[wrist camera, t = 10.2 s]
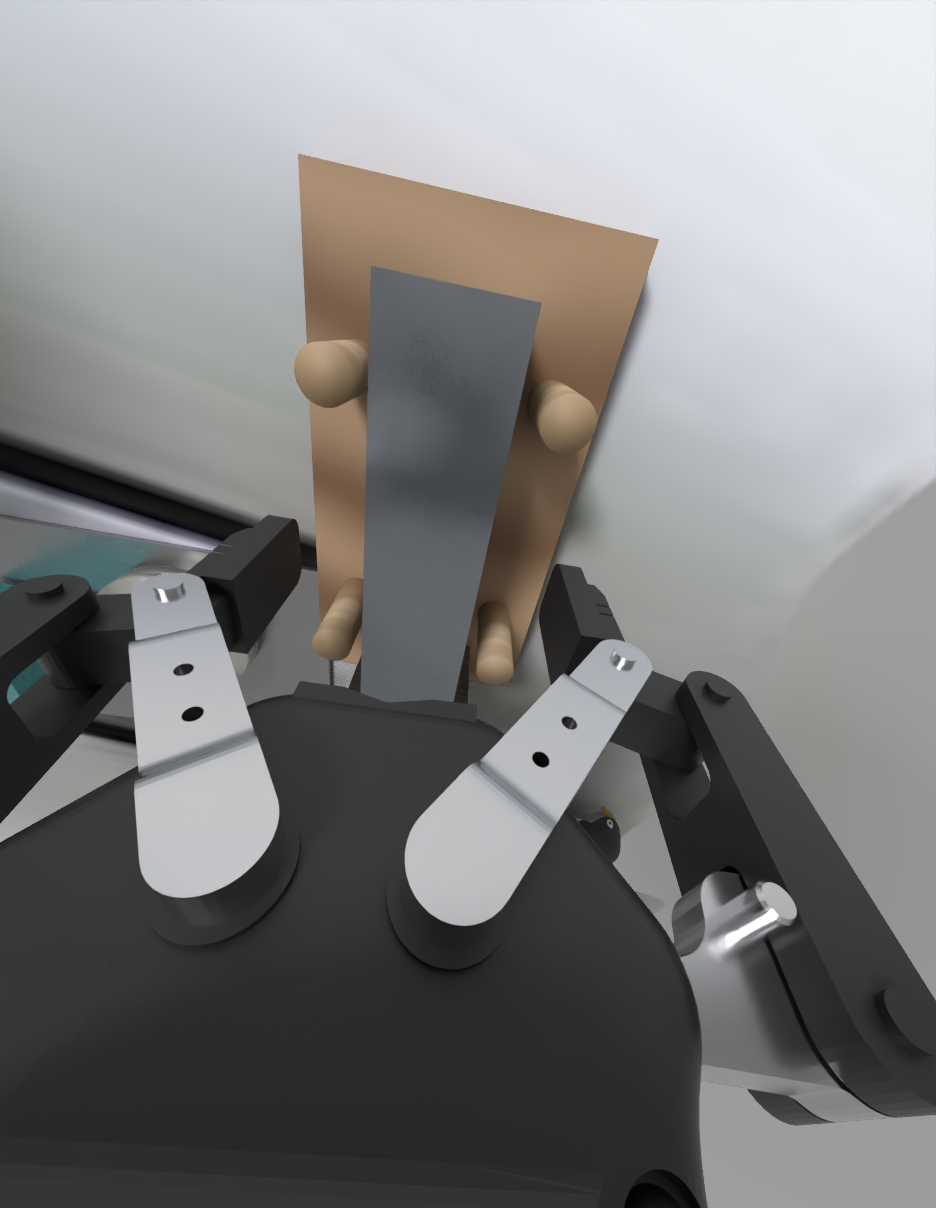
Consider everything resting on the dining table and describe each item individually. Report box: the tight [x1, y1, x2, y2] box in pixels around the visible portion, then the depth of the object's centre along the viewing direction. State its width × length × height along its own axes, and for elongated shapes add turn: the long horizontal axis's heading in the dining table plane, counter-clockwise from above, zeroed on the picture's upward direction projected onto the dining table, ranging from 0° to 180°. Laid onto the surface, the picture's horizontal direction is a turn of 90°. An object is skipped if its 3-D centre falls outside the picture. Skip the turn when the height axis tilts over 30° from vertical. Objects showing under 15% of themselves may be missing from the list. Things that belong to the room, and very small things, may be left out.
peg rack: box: [294, 154, 659, 686], centre depth 16 cm, size 20×11×6 cm, turn 170°
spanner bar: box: [348, 266, 542, 704], centre depth 16 cm, size 18×6×5 cm, turn 170°
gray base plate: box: [0, 515, 331, 718], centre depth 25 cm, size 15×18×1 cm
